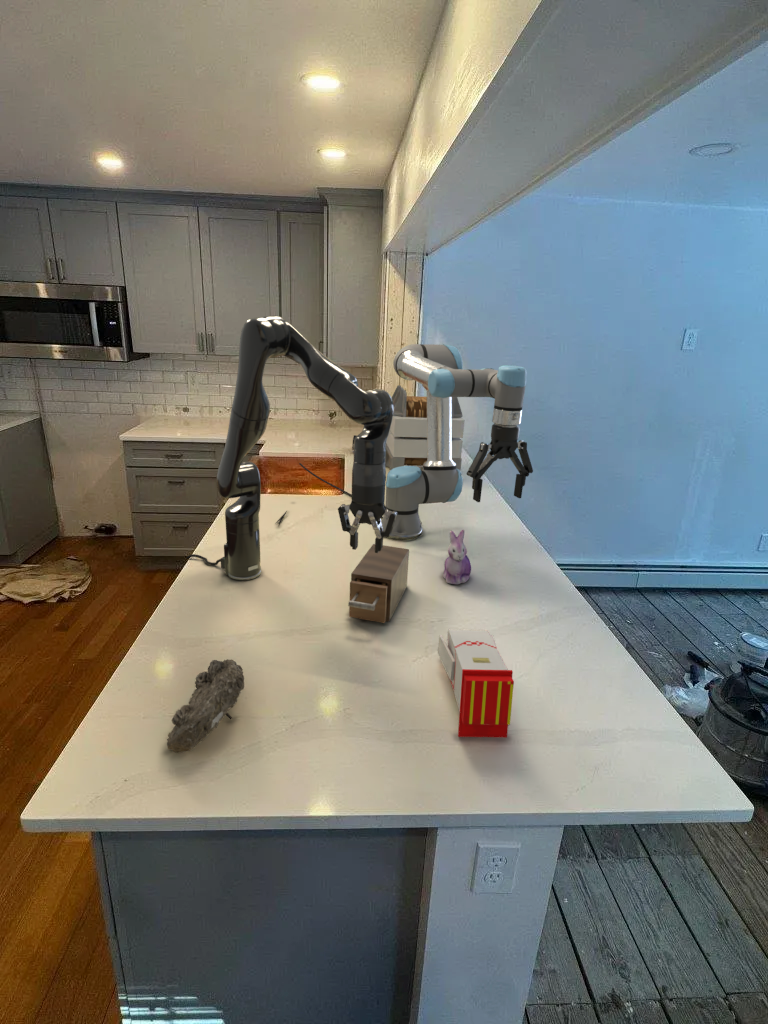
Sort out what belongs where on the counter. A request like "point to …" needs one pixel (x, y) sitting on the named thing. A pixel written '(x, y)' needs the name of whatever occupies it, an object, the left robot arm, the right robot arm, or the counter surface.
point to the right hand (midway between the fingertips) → (497, 498)
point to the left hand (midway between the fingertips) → (366, 549)
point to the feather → (281, 519)
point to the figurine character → (353, 442)
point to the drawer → (368, 600)
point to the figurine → (457, 560)
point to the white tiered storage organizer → (417, 431)
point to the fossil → (206, 705)
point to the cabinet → (385, 572)
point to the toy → (478, 682)
